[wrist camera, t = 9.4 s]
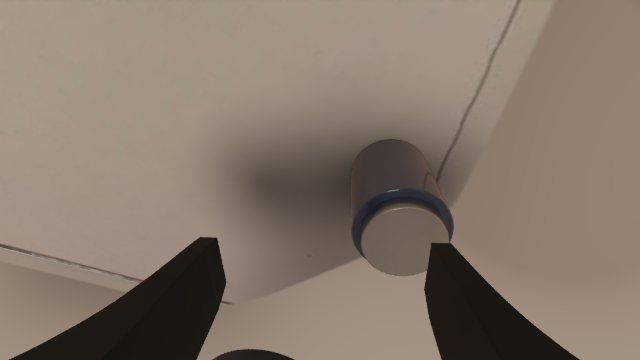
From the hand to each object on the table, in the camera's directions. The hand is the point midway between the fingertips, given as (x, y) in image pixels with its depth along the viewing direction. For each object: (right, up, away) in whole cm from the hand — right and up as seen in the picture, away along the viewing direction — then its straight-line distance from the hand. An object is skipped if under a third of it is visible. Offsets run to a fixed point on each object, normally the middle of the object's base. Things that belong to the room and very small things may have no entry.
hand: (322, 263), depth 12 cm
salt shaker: (+4, +3, +8) cm, 10 cm away
